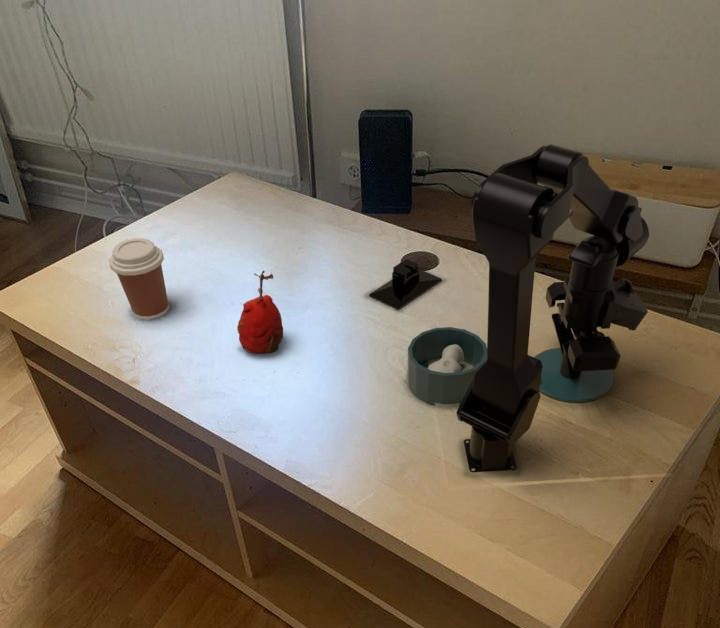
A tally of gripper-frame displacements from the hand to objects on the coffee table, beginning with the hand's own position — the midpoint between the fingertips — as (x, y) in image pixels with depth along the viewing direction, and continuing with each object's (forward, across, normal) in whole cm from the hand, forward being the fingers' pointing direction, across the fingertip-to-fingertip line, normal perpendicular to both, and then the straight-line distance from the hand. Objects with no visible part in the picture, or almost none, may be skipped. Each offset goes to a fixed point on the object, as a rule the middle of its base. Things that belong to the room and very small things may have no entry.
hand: (570, 370), depth 111 cm
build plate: (+2, +28, +23) cm, 36 cm away
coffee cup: (+2, +26, +69) cm, 74 cm away
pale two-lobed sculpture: (+1, +1, +19) cm, 19 cm away
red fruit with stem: (+2, +13, +48) cm, 50 cm away
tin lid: (+1, 0, 0) cm, 1 cm away
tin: (+2, +1, +19) cm, 19 cm away
